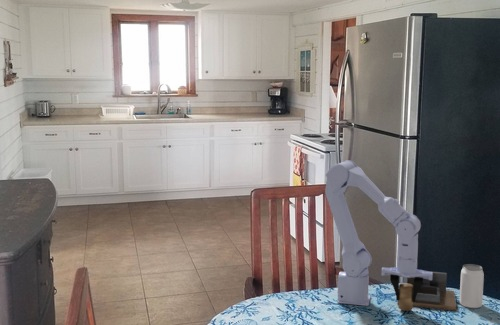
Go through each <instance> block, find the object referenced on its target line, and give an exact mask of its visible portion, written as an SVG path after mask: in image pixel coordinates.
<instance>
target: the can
mask: <svg viewBox="0 0 500 325" xmlns="http://www.w3.org/2000/svg"><path fill="white" fill-rule="evenodd" d="M484 275H485V274H484V271H483V267H482V266H481V265H479V264H473V263H468V264H467V263H466V264H463V265H462V269H461V271H460V284H459V286H460V287H459V304H460V305H461V306H463V307H464V308H468V309H480V308H482V306H483V297H484V296H483V295H484V281H485V278H484V277H485V276H484Z"/></svg>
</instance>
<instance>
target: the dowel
mask: <svg viewBox="0 0 500 325" xmlns="http://www.w3.org/2000/svg"><path fill="white" fill-rule="evenodd" d="M412 305H413V285H411V284H408V283H407V282H403V283H399V305H398V309H400V310H401V311H407V312H409V311H412V310H413V306H412Z"/></svg>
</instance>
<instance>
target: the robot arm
mask: <svg viewBox="0 0 500 325" xmlns="http://www.w3.org/2000/svg"><path fill="white" fill-rule="evenodd" d="M325 176H326V182H325V183H326V184H325V193H324V194H325V197H326V200H327V202H328V203H327V204H328V206H329V208H330V212H331V214H332V217H333V218H332V219H333V221H334V223H335V224H334V225H335V226H336V229H337V232H338V235H339V238H340V241H341V244H342V250H341V257H342V269H343V271H339V273H338V276H337V277H338V278H337V303H338V304H345V305H347V304H348V305H356V306H365V307H368V306H369V305H370V299H371V295H370V294H369V284H370V282H369V280H370V278H369V276H370V272H369V266H371V264H372V262H373V258H372V255H371V253H370V252H369V250H367V248H366V246H365V244H364V243H363V242H362V241H361V240H360V238H359V235H358V232H357V229H356V226H355V223H354V220H353V218H352V215H351V212H350V209H349V205H348V203H347V200H346V196H345V195H344V193H345V192H346V189H347V187H355V188H357V187H358V188H359V189H360V190H361V191H362V192H363V193H364V194H365V195H366V196H368V198H370V199H371V200H372V201H373V202H374V203H376V205H377V208H378V209H377V210H378V212H379V213H380V214H381V215H382V216H383V217H384V218H385V219H386V220H387V221H388V222H389V223H390V224H391V225H392V226H393V227H395V232H396V234H397V238H398V239H397V255H396V256H397V257H396V258H397V259H396V267H384V266H383V267H381V275H380V276H381V277H385V276H390V279H389V280H390V283H391V285H392V287H393V290H394V292H395V298H396V299H395V300H396V301H397V302H398V301H399V285H400V278H406V279H407V278H414V291H413V302H415V299H416V295H417V293H418V291H419V289H420V287H421V285H422V283H423V279H428V280H432V275H433V273H432V272H433V271H430V272H428V270H423V269H418V254H419V253H418V251H419V250H418V249H419V240H418V239H419V231H420V230H421V227H422V224H421V223H422V222H421V220H420V219H419V217H418V216H417V215H416V214H412V213H411V212H410V211H407V210H406V209H405V208H404V207H403V206H402V205H401V204H400V201H399V199H398V198H394V197H390V196H386V195H385V194H384V193H383V192H382V191H381V189H379V187H378V186H377V185H376V184H375V183H374V182H373V181H372V180H371V179H370V178H369V177H368V175H367V174H365V172H364V170H363V169H362V168H361V167H360V166H358V165H357V163H356V162H354V161H353V160H348V159H346V160H344V161H342V162H339V163H334V164H332V165H331V166H330V168H328V171H327V172H326V174H325Z"/></svg>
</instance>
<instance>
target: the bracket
mask: <svg viewBox="0 0 500 325" xmlns="http://www.w3.org/2000/svg"><path fill="white" fill-rule="evenodd" d="M427 271H428V270H427ZM428 272H432V273H433V275H432V280H428V279H423V283H422V285H421V287H420V289H419V291H418V293H417V295H416V299H415V302H413V305H412V307H415V308H416V307H417V308H426V309H427V308H428V309H436V310H444V311H445V310H446V311H457V302H456V296H455V291H454V290H450V289H449V290H447V280H448V279H447V278H448V276H447V275H448V273H447V272H439V271H428ZM406 280H407V281H406V283H408V284H411V285H413V291H414V278H407V277H406ZM397 305H398V306H399V301H398V300H397Z"/></svg>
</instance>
